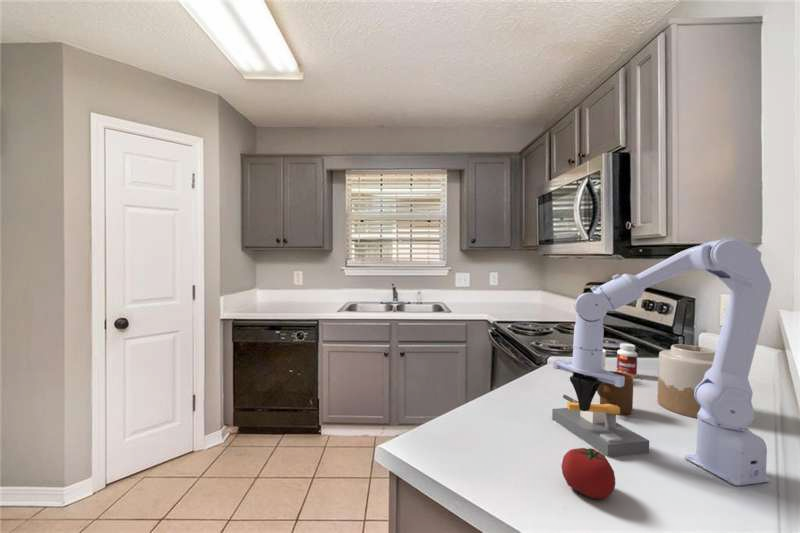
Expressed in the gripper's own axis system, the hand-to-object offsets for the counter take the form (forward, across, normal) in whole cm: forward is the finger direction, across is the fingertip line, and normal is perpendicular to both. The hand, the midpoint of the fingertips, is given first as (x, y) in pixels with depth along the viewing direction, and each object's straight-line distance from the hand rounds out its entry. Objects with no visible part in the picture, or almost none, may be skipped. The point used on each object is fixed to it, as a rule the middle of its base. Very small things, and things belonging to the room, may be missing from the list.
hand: (584, 409), depth 79 cm
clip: (0, 0, -3) cm, 3 cm away
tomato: (+7, -10, +17) cm, 21 cm away
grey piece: (+7, 0, -6) cm, 9 cm away
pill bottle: (+6, +16, -62) cm, 65 cm away
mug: (+7, +4, -23) cm, 25 cm away
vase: (+6, -7, -44) cm, 45 cm away
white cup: (+6, +22, -48) cm, 53 cm away
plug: (+4, +5, -9) cm, 12 cm away
